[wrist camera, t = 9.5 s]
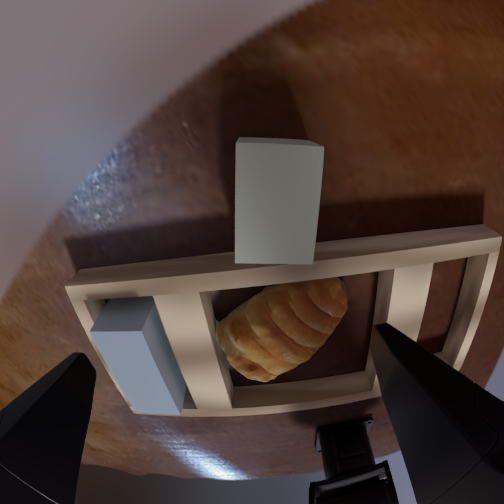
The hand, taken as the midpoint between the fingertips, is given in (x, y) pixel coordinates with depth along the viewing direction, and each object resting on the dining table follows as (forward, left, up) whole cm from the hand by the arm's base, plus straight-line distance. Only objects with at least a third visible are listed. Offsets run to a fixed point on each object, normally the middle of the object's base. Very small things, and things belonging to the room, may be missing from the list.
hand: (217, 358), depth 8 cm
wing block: (-9, +8, -12) cm, 17 cm away
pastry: (-8, -2, -12) cm, 14 cm away
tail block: (+2, -2, -12) cm, 12 cm away
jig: (-9, -3, -11) cm, 15 cm away
